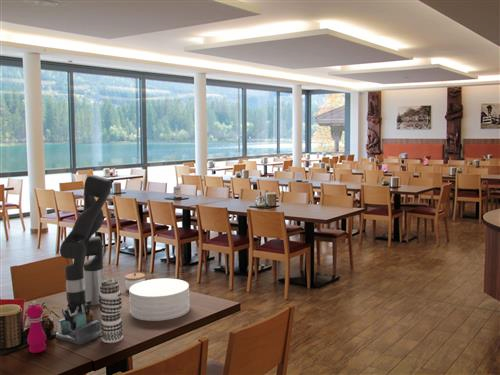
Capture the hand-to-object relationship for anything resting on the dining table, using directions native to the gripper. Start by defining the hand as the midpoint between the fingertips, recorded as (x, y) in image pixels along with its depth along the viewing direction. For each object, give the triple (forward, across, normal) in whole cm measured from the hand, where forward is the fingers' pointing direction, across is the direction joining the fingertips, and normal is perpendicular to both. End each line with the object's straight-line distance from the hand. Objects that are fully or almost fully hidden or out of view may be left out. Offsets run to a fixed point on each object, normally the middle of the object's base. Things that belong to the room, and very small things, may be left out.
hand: (78, 328), depth 231 cm
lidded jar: (+4, -59, -25) cm, 64 cm away
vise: (+4, 0, 0) cm, 4 cm away
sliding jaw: (+2, 0, -6) cm, 7 cm away
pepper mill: (+4, +17, -4) cm, 18 cm away
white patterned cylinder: (+4, -6, +14) cm, 16 cm away
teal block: (+1, 0, 0) cm, 1 cm away
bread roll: (+4, -14, -15) cm, 21 cm away
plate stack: (+4, -42, +8) cm, 43 cm away
